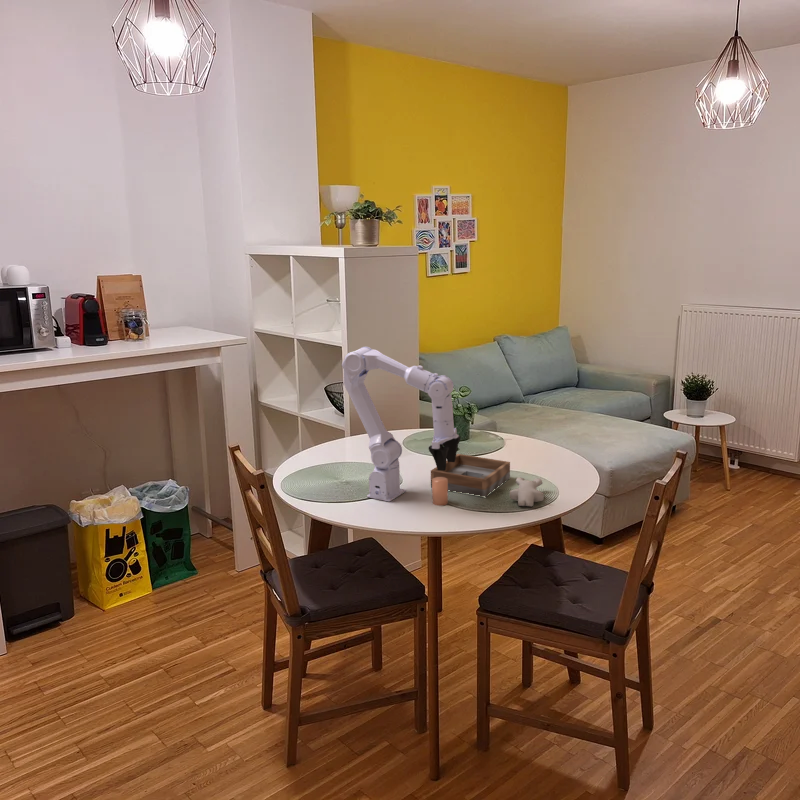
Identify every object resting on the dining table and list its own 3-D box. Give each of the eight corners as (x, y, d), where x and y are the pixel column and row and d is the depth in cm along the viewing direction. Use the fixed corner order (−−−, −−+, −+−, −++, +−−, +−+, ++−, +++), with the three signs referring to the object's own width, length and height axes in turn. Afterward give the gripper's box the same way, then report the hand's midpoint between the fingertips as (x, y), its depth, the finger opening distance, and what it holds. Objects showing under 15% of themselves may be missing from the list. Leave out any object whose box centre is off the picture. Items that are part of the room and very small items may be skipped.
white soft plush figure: (507, 494, 203) (513, 470, 216) (508, 511, 205) (513, 486, 218) (542, 497, 201) (545, 472, 214) (542, 513, 202) (545, 488, 216)
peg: (443, 506, 206) (443, 483, 204) (429, 503, 208) (429, 480, 206) (450, 501, 210) (450, 478, 208) (437, 498, 212) (436, 476, 210)
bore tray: (485, 498, 211) (485, 480, 210) (430, 487, 220) (430, 470, 219) (509, 478, 226) (510, 461, 225) (457, 470, 235) (457, 453, 234)
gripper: (447, 427, 197) (450, 474, 200) (465, 413, 209) (468, 458, 212) (423, 426, 199) (427, 473, 202) (442, 412, 212) (445, 457, 215)
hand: (446, 465), depth 208 cm, fingers open, 7 cm apart
